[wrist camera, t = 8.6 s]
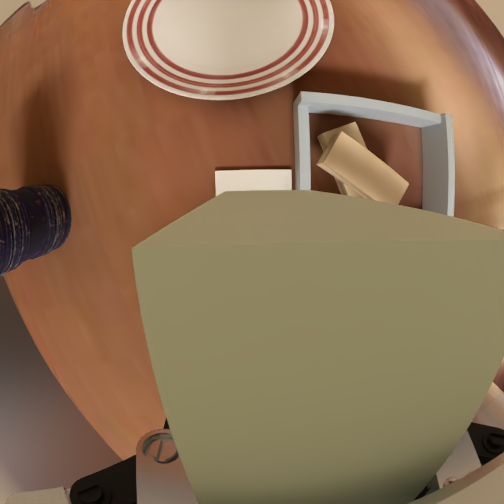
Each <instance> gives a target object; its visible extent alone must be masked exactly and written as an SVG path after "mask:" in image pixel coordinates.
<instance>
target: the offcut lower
mask: <svg viewBox="0 0 504 504" xmlns="http://www.w3.org/2000/svg"><path fill="white" fill-rule="evenodd" d="M341 131H343V132H344V133H345V134H347V135H348V136H350V137H351V138H352V139H354V140H355V141H357V142H358V143H359V144H361V145H362V146H363V147H365V148H366V145H365V143H364V140H363V138H362V136H361V133H360V131H359V129H358V126H357V124H356V122H353V123H350V124H347V125H344V126H341V127H338V128H336V129H333V130H330V131H327V132H325V133H322V134H320V135H319V136H317V138H318V140H319V143H320V145H321V147H322V149H323V152H324V150H325V148H326V147H327V145H328V143H329V142H330V140H331V138H332V137H333V135H335V134H337V133H339V132H341ZM366 149H367V148H366ZM334 178H335V180H336V183H337V185H338V188H339V190H340V193H341V195H347V196H353V197H359V198H364V197H362V196H361V195H360V194H358V193H357V192H355V191H354V190H353V189H351V188H350V187H348V186H347V185H346V184H344V183H343V182H341V181H340V180H338V179H337V178H336V177H334Z"/></svg>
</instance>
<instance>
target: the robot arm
mask: <svg viewBox="0 0 504 504" xmlns="http://www.w3.org/2000/svg"><path fill="white" fill-rule="evenodd" d="M6 504H199V503H198V501H197V498H196V496H195V494H194V491H193V489H192V487H191V484H190V482H189V479H188V477H187V475H186V472H185V469H184V467H183V464H182V462H181V459H180V456H179V454H178V451H177V448H176V445H175V442H174V439H173V436H172V433H171V430H170V427H169V424H168V421H167V418H166V421H165V425H164V429H159V430H153V431H151V432H149V433H146V434H145V435H144V436H143V437H141V439H140V440H139V441H138V443H137V448H136V455H134V456H132V457H130V458H128V459H126V460H124V461H121V462H119V463H117V464H115V465H112V466H110V467H108V468H106V469H103V470H101V471H99V472H96V473H94V474H91V475H88V476H86V477H83V478H81V479H79V480H77V481H76V482H75V483H74V484H73V485H72V487H71V489H65V488H64V487H59V488H53V489H46V490H39V491H31V492H21V493H15V494H12V495H11V496H10V497H8V499H7V501H6ZM407 504H504V392H503V391H502V390H500V389H499V388H498V387H497V386H496V385H495V384H494V383H493V382H492V384H491V386H490V388H489V390H488V392H487V394H486V396H485V398H484V400H483V402H482V404H481V406H480V408H479V410H478V411H477V413H476V415H475V417H474V418H473V420H472V422H471V424H470V425H469V427H468V429H467V430H466V432H465V433H464V435H463V437H462V438H461V440H460V441H459V443H458V444H457V446H456V447H455V449H454V450H453V451H452V453H451V454H450V456H449V457H448V459H447V460H446V461H445V463H444V464H443V465H442V467H441V468H440V469H439V471H438V472H437V473H436V474H435V476H434V477H433V478H432V479H431V481H430V482H429V483H428V484H427V485H426V487H425V488H424V489H423V490H422V491H421V492H420V493H419V495H418V496H417V497H416V498H415V499H414V500H413V501H412V502H410V503H407Z"/></svg>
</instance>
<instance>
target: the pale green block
mask: <svg viewBox="0 0 504 504" xmlns="http://www.w3.org/2000/svg"><path fill="white" fill-rule="evenodd" d="M131 249H132V258H133V266H134V273H135V280H136V287H137V293H138V299H139V305H140V311H141V316H142V321H143V327H144V332H145V336H146V341H147V346H148V350H149V355H150V359H151V363H152V367H153V371H154V375H155V379H156V383H157V387H158V390H159V394H160V398H161V401H162V405H163V408H164V411H165V415H166V418H167V421H168V424H169V427H170V430H171V433H172V436H173V439H174V442H175V445H176V448H177V451H178V454H179V456H180V459H181V462H182V464H183V467H184V469H185V472H186V475H187V477H188V479H189V482H190V484H191V487H192V489H193V491H194V494H195V496H196V498H197V501H198V503H199V504H407V503H410V502H412V501H413V500H414V499H415V498H416V497H417V496H418V495H419V493H420V492H421V491H422V490H423V489H424V488H425V487H426V485H427V484H428V483H429V482H430V481H431V479H432V478H433V477H434V476H435V474H436V473H437V472H438V471H439V469H440V468H441V467H442V465H443V464H444V463H445V461H446V460H447V459H448V457H449V456H450V454H451V453H452V451H453V450H454V449H455V447H456V446H457V444H458V443H459V441H460V440H461V438H462V437H463V435H464V433H465V432H466V430H467V429H468V427H469V425H470V424H471V422H472V420H473V418H474V417H475V415H476V413H477V411H478V410H479V408H480V406H481V404H482V402H483V400H484V398H485V396H486V394H487V392H488V390H489V388H490V386H491V384H492V382H493V380H494V378H495V376H496V373H497V371H498V369H499V366H500V364H501V362H502V359H503V357H504V230H501V229H498V228H494V227H491V226H487V225H484V224H480V223H476V222H472V221H468V220H464V219H460V218H456V217H452V216H448V215H444V214H439V213H435V212H431V211H426V210H421V209H417V208H412V207H407V206H402V205H397V204H392V203H387V202H381V201H376V200H370V199H365V198H359V197H353V196H347V195H340V194H334V193H327V192H320V191H313V190H251V191H225V192H223V193H221V194H220V195H218V196H216V197H214V198H213V199H211V200H209V201H207V202H206V203H204V204H202V205H201V206H199V207H197V208H195V209H194V210H192V211H190V212H189V213H187V214H185V215H184V216H182V217H180V218H179V219H177V220H176V221H174V222H172V223H171V224H169V225H167V226H166V227H164V228H163V229H161V230H159V231H158V232H156V233H155V234H153V235H151V236H150V237H148V238H147V239H145V240H144V241H142V242H140V243H139V244H137V245H136V246H134V247H133V248H131Z"/></svg>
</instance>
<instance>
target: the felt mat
mask: <svg viewBox="0 0 504 504" xmlns="http://www.w3.org/2000/svg"><path fill="white" fill-rule="evenodd" d="M215 185H216V196H218V195H220V194H221V193H223V192H225V191H251V190H292V173H291V170H227V171H215Z"/></svg>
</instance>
